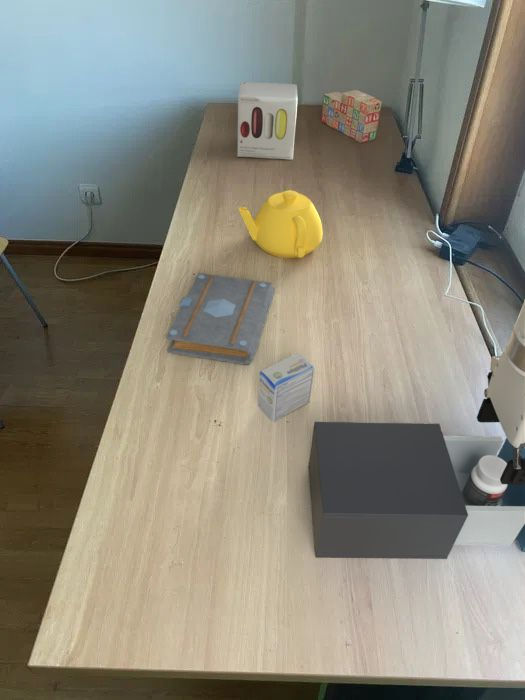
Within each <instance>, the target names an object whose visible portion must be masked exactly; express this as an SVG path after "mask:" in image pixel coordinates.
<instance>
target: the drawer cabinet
mask: <svg viewBox="0 0 525 700" xmlns="http://www.w3.org/2000/svg"><path fill="white" fill-rule="evenodd" d="M443 436H444V433H443V431H442V428H441V424H440V423H433V422H432V423H429V422H428V423H427V422H425V423H424V422H368V421H367V422H366V421H365V422H364V421H363V422H362V421H360V422H359V421H314V423H313V430H312V437H311V444H310V452H309V459H308V466H307V469H308V470H307V471H308V482H309V495H310V505H311V506H310V509H311V519H312V520H311V521H312V531H313V544H314V545H313V547H314V557H315V558H316V559H317V558H319V559H320V558H321V559H323V558H325V559H407V560H408V559H409V560H410V559H414V560H415V559H419V560H420V559H421V560H424V559H425V560H428V559H429V560H432V559H433V560H437V559H438V560H447V559H448V557H449V555H450V553H451V551H452V549H453V547H454V546H455V545H454V543H455V541H456V539H457V537H458V535H459V533H460V531H461V529H462V527H463V525H464V523H465V521H466V519H467V517H468V513H467V510H466V507H465V503H464V500H463V497H462V494H461V491H460V488H459V484H458V481H457V478H456V475H455V472H454V468H453V465H452V462H451V459H450V456H449V453H448V449H447V446H446V443H445V440H444V437H443Z"/></svg>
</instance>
